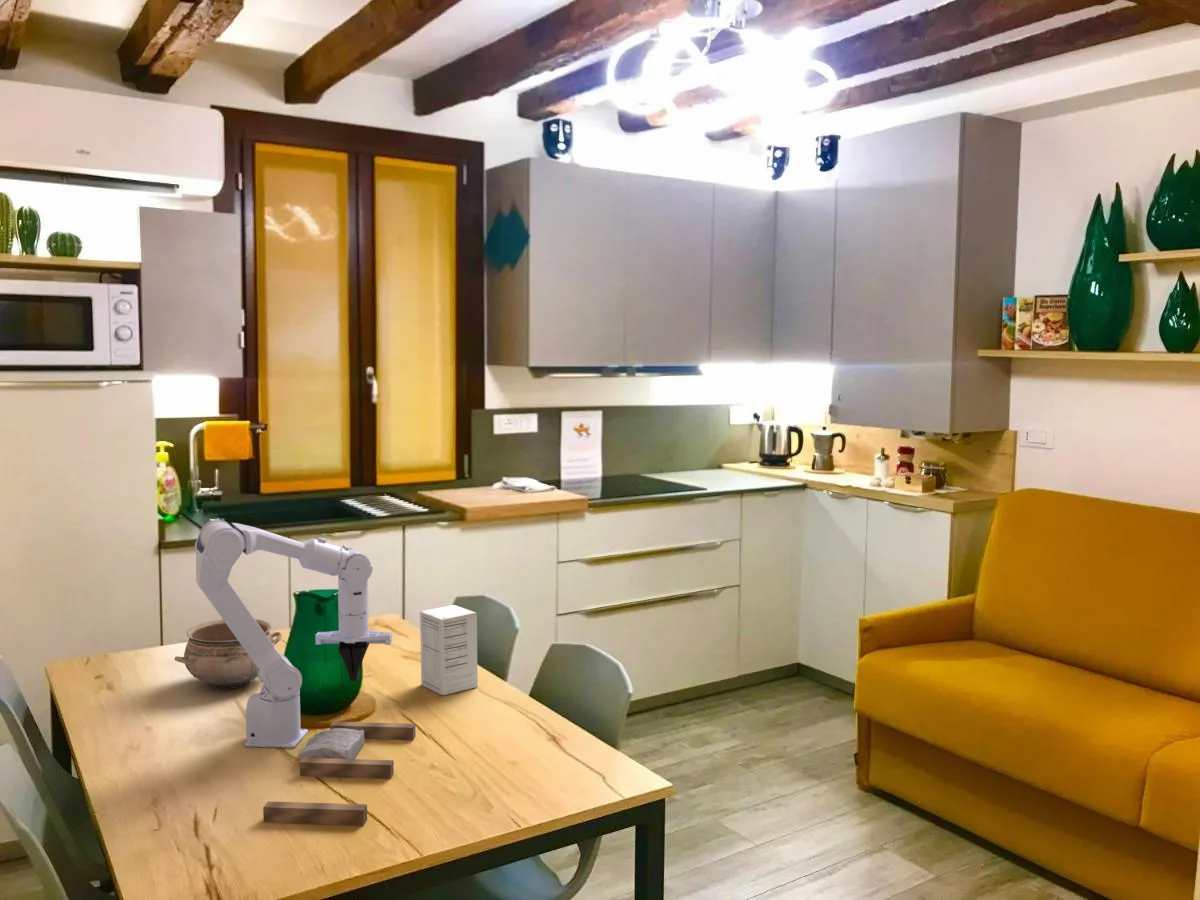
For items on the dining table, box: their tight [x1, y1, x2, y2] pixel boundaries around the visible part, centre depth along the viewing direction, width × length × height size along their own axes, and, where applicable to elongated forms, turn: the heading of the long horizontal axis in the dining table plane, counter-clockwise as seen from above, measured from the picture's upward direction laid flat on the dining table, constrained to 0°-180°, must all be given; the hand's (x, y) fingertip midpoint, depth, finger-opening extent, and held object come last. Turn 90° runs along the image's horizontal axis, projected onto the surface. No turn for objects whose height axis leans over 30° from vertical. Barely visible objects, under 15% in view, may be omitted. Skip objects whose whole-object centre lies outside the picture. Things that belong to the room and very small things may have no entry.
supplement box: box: [419, 604, 479, 696], centre depth 223 cm, size 10×9×17 cm
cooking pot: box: [174, 618, 283, 690], centre depth 223 cm, size 25×19×12 cm
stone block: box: [299, 728, 365, 762], centre depth 186 cm, size 12×5×10 cm
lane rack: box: [262, 721, 416, 826], centre depth 178 cm, size 16×36×2 cm, turn 177°
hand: (354, 679), depth 200 cm, fingers closed
